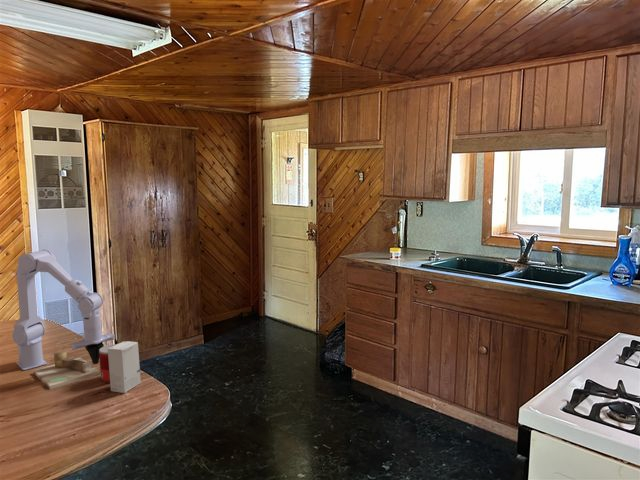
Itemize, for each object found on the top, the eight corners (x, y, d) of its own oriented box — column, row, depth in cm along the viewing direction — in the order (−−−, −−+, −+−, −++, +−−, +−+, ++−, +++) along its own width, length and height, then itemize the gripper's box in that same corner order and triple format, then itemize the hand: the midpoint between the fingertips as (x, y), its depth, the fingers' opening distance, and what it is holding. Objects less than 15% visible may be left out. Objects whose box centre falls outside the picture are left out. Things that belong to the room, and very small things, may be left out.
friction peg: (52, 366, 169) (51, 353, 168) (62, 362, 173) (61, 349, 172) (83, 373, 163) (82, 359, 163) (92, 368, 167) (91, 355, 166)
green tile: (49, 382, 157) (49, 382, 157) (50, 378, 160) (50, 378, 160) (66, 379, 159) (66, 379, 159) (67, 376, 162) (67, 375, 162)
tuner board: (33, 373, 167) (33, 370, 167) (80, 360, 179) (80, 357, 178) (50, 389, 155) (49, 385, 155) (99, 374, 166) (99, 370, 166)
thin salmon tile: (83, 373, 164) (83, 373, 164) (79, 372, 165) (79, 372, 165) (90, 370, 167) (90, 369, 167) (86, 369, 168) (86, 369, 168)
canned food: (116, 384, 159) (114, 353, 157) (96, 382, 160) (93, 351, 159) (130, 374, 166) (128, 345, 164) (110, 372, 168) (108, 343, 166)
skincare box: (124, 394, 151) (121, 350, 149) (109, 391, 153) (106, 348, 151) (141, 382, 159) (139, 341, 157) (127, 380, 161) (124, 339, 159)
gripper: (75, 335, 160) (78, 372, 162) (117, 325, 170) (120, 360, 172) (67, 330, 165) (71, 366, 167) (109, 320, 175) (111, 355, 177)
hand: (95, 363), depth 170 cm, fingers closed
